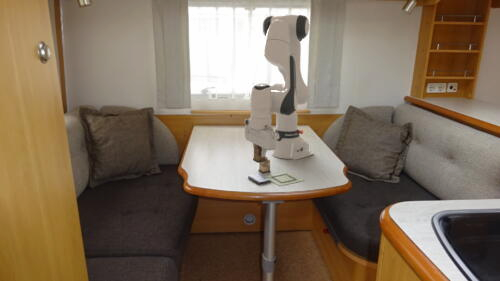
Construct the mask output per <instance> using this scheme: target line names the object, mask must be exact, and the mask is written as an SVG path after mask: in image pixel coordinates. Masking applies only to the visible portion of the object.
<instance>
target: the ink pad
mask: <svg viewBox="0 0 500 281" xmlns="http://www.w3.org/2000/svg"><path fill="white" fill-rule="evenodd" d="M247 178H248V179H249V180H250V181H252V182H253V183H255V184H256V185H258V186H262V185H266V184H271V182H272V181H271V180H269V179H268V178H266V177H265V176H264V175H263V174H262V173H258V174H253V175H248V177H247Z"/></svg>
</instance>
